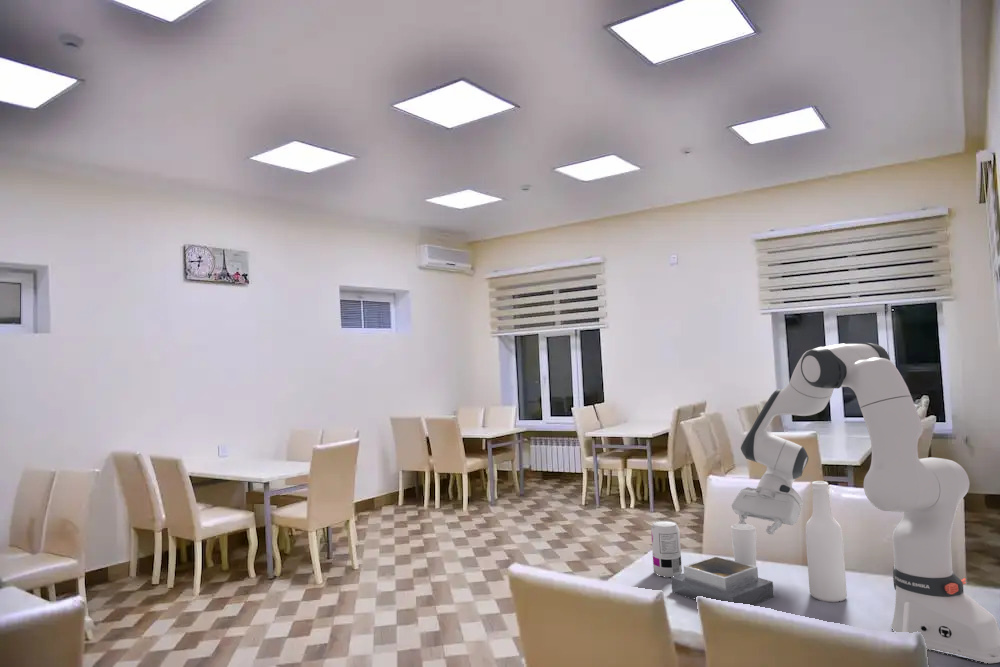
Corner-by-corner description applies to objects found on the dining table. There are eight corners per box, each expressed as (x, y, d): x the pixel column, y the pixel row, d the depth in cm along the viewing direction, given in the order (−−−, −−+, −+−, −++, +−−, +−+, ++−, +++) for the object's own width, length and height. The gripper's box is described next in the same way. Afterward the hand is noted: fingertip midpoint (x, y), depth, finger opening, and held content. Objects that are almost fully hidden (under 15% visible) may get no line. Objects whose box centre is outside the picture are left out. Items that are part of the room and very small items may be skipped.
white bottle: (830, 605, 164) (821, 486, 165) (802, 594, 172) (794, 481, 174) (855, 598, 167) (846, 482, 169) (826, 588, 176) (818, 477, 177)
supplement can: (648, 575, 194) (645, 524, 194) (662, 567, 200) (659, 518, 200) (673, 580, 188) (670, 528, 189) (686, 572, 194) (683, 522, 195)
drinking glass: (762, 582, 183) (759, 529, 183) (738, 583, 183) (735, 530, 183) (753, 574, 189) (750, 523, 190) (730, 575, 189) (727, 524, 190)
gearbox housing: (773, 596, 172) (771, 568, 172) (733, 613, 162) (731, 583, 162) (711, 578, 188) (710, 552, 189) (672, 592, 179) (670, 564, 179)
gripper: (738, 480, 203) (720, 517, 197) (798, 489, 186) (781, 530, 180) (747, 492, 205) (730, 529, 199) (808, 502, 188) (791, 543, 182)
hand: (754, 530), depth 190 cm, fingers open, 8 cm apart
